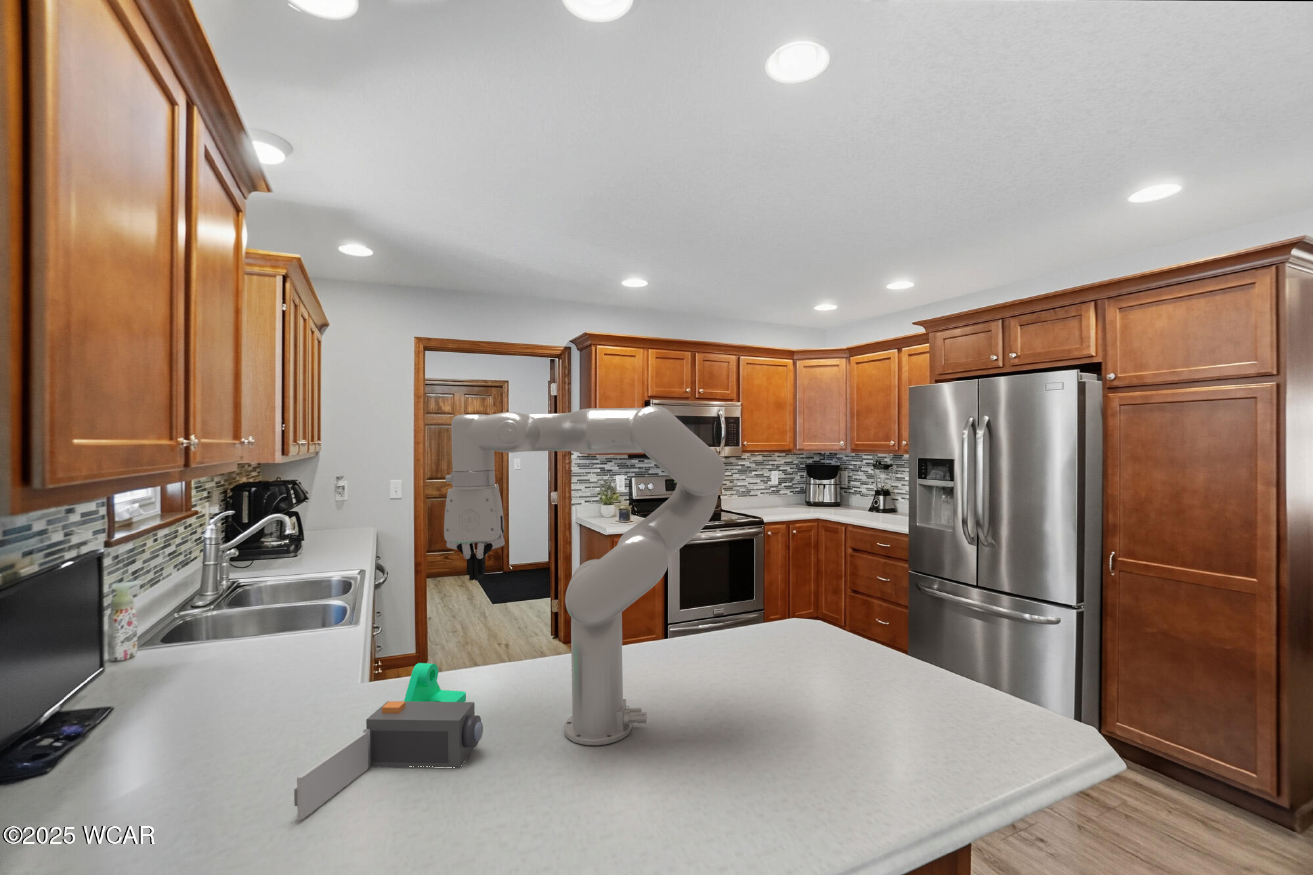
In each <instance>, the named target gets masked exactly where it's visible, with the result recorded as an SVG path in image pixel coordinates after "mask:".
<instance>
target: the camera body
mask: <svg viewBox="0 0 1313 875" xmlns="http://www.w3.org/2000/svg"><path fill="white" fill-rule="evenodd" d="M475 705H476V704H475V702H474V701H465V702H407V701H404V700H403V701H395V700H393V701H392V700H391V701H386V702H385V703H383V705H381V706H380V707H379V708H377V710H376V711H375V712H374V713H372V714H370V716H368V717H367V718H366V720H365V721H366V723H365V724H366V725H365V726H366V728H365V729H370V758H371V768H398V769H399V768H401V767H409V766H412V767H413V766H414V767H418V766H419V767H420V766H422V767H423V766H424V767H426V766H428V767H429V766H430V767H432V766H433V767H452V768H451V769H455V768H460V767H461V768H462V766H463V765H464V764H465V762H466V761H465V760H467V759H468V758H469V757H468V756H470V755H471V754H472V753H473V751H474V749H475V748H476V747H478V744H479V742H480V741H481V739H482V737H483V732H484V725H483V724H484V723H483V722H482V718H481V716H480V715H475V713H476V712H475V711H476V710H475ZM467 757H468V758H467ZM464 761H465V762H464ZM463 763H464V764H463ZM461 765H462V766H461ZM453 767H455V768H453ZM461 768H460V769H461ZM401 769H402V768H401Z"/></svg>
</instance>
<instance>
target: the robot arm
mask: <svg viewBox="0 0 1313 875" xmlns="http://www.w3.org/2000/svg"><path fill="white" fill-rule="evenodd" d="M450 429H451V458H452V460H451V461H452V464H451V465H452V471H451V473H450V474H446V476H445V482H446V483H450V484H451V488H448V489H447V494H446V500H445V501H446V502H445V507H444V508H445V509H444V524H443V536H444V540H445V541H446V548H448V549H453V550H457V551H458V552H460V554H462V555H463V558H464V559H465V560H466V575H467V576H468V579H469V581H470V582H471V581H479V580H481V579H483V578H484V575H486V570H487V568H486V557H487V555H488V554H489V553H490V552H491V551H492V550H493V549H498V548H501V547H503V546H505V538H504V534H505V519H504V510H503V503H502V497H501V493H500V489H499V486H496V479H495V478H496V476H495V473H496V471H495V468H496V467H495V452H501V453H509V454H510V453H513V454H514V453H523V452H524V453H526V452H573V453H578V454H590V455H591V454H629V453H630V454H632V453H633V454H635V453H644V454H645V455H646V456H647V457H648V458H649V459H650V460H651V461H652V462H653V463H655V465H657V466H658V467H659V468H660V469H661V470H663V472H664V473H666V474H667V475H668V476H669V477H670V478H671V479H673V481H675V482H676V486H675V489H674V491H673V493H672V494H671V496H669V497H668V499H667V500H666V501H664V502H663V503H662V504H661V505H660V506H659V507H657V508H656V509H655V510H653V512H651V513H650V514H649V515H647V516H646V517H645V518H644V519H642V520H641V521H640V522H639V523H637V524H636V525H634V526H633V527H631V528H630V529H628V530H627V531H626V532H624V533H623V534H622V535H621V536H620V538H619V540H618V542H617V545H616V546H614V547H613V548H612V549H611V550H609V551H608V552H607V553H605V554H604V555H603V556H601V557H600V558H598V559H597V558H594V559H589V560H587V561H585V562H583V563H582V564H580V565H579V566H578V567H577V568H576V569H575V570H574V572H573V574H572V576H571V578H570V581H569V583H568V585H567V589H566V590H565V598H564V601H565V607H566V610H567V612H568V614H569V616H570V617H571V618H570V621H571V622H570V626H571V627H570V630H571V632H570V637H571V639H570V640H571V641H570V643H571V645H570V646H571V648H570V649H571V650H570V651H571V655H570V656H571V660H570V661H571V703H572V705H571V707H572V708H571V709H572V710H571V711H572V715H571V716H570V717H569V718H568V719H567V720H566V721H565V723H564V727H563V728H564V729H563V731H564V735H565V737H566V738H567V739H569V741H572V742H573V743H577V744H580V745H585V746H602V745H603V746H604V745H608V744H613V743H615V742H619V741H621V740H622V739H624V738H625V737H627V736H628V735H629V734H630V733H631V731H632V727H633V726H632V725H633V724H647V722H648V720H647V719H648V713H647V711H642V707H630V706H627V699H626V698H624V686H623V684H624V682H623V676H624V674H623V615H622V614H623V612H624V611H625V610H626V609H627V608H628V607H630V606H631V605H633V604H634V603H635V602H636V601H638V600H639V599H640V598H641V597H643V596H644V595H645V594H646V593H647V592H649V591H650V590H651V589H652V588H654V587H655V586H656V584H658V583H659V582H660V581H661V579H662V578H663V577H664V575H665V573H666V572H667V570H668V567H669V562H670V561H669V560H670V558H671V557H672V556H673V555H674V554H675V553H676V552H678V551H679V550H681V549H682V548H683V547H684V546H685V545H686V544H687V543H688V542H689V541H691V540H692V539H693V538H694V537H695V536H696V535H697V534H698V533H700V531H702V529H703V528H705V526H706V525H707V523H708V522H709V521H710V519H711V518H712V516H713V515H714V512H715V509H716V507H717V502H718V497H719V493H720V492H719V489H720V488H721V487H722V485H723V484H724V481H725V478H726V467H725V464H724V462H723V460H722V458H721V457H720V455H719V454H717V452H716V451H715V450H714V449H712V448H711V447H710V446H709V445H708V444H706V442H704V441H703V440H702V439H701V438H700V437H699V436H697V435H696V434H695V433H694V432H693V431H692V430H690V428H688V427H687V426H686V425H685V424H684V423H683V422H682V421H681V420H679V419H678V418H677V417H676V415H674V414H673V413H672V412H671V411H670V410H669V409H667V408H665V407H663V406H660V405H648V406H645V407H620V408H619V407H614V408H613V407H612V408H611V407H610V408H608V407H607V408H605V407H603V408H598V407H593V408H591V407H590V408H583V409H579V410H575V411H571V412H565V413H563V412H562V413H521V412H516V411H505V412H499V413H494V414H493V413H492V414H482V413H474V414H473V413H469V414H467V413H466V414H465V413H464V414H459V415H455V416H454V417H453V418H452V419H451V428H450ZM475 544H477V547H476V548H477V549H475Z"/></svg>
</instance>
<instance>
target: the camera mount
mask: <svg viewBox="0 0 1313 875" xmlns="http://www.w3.org/2000/svg"><path fill="white" fill-rule="evenodd" d="M438 677H439V667H438V665H437V664H436V663H429V662H428V663H425V662H418V663H417V664H415V665H414V667H413V669H412V672H411V675H410V678H409V681H408V684H407V685H408V686H407V688H406V693H405V697H404V699H403V701H407V702H467V692H466V691H463V690H449V689H448V690H446V689H441V687H440V685H439V683H438V681H437V680H438Z"/></svg>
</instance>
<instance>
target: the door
mask: <svg viewBox="0 0 1313 875" xmlns="http://www.w3.org/2000/svg"><path fill="white" fill-rule="evenodd" d="M371 768H372V767H371V758H370V729H366V728H364V729H363V732H361V733H360V734H358V735H357V736H355V737H353V739H351V740H349V741H348V742H346V743H345V744H344V745H342V746H341V747H339V748H338V749H336V750H334V751H333V752H332V753H330V754H329V755H327V756H325V757H324V758H323V759H322V760H320V761H318V762H317V763H316V764H314V765H312V767H310V768H309V769H307V770H305V771H304V772H302V773H301V774H299V775H298V776H297V777H296V787H294V789H293V790H294V792H293V793H294V794H293V797H294V798H293V800H294V803H293V805H294V807H297V810H296V811H297V820H304V819H305V818H306V817H308V816H309V815H310V814H311V813H312V812H314V811H315V810H316V809H318V808H319V807H320V806H322V805H323V804H324V803H326V802H327V801H328V800H330V798H332V797H333V796H334V795H336V794H337V793H338V792H340V791H341V790H343V789H344V788H345V787H346V786H348V785H349V784H350V783H352V782H353V781H354V780H355V779H357V778H358V777H359V776H360V775H362V774H363V773H365V771H368V770H370V769H371Z"/></svg>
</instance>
